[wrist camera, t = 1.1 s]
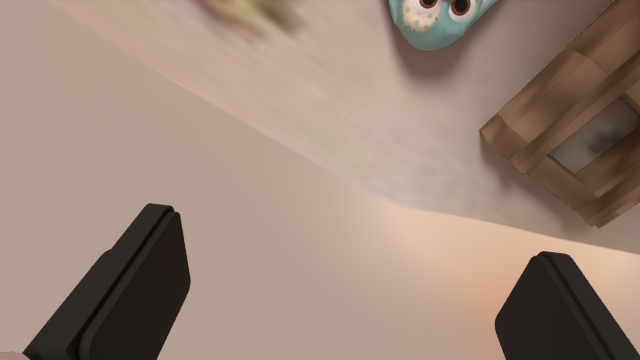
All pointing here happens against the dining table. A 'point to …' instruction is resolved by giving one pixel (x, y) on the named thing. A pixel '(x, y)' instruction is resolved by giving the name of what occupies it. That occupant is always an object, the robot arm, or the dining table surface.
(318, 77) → the dining table surface
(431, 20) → the stuffed animal
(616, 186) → the wooden box
